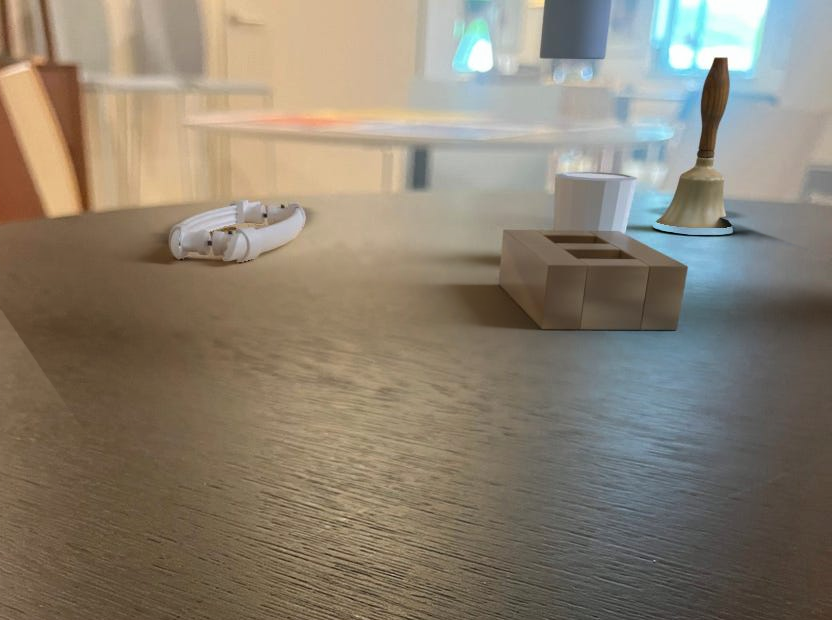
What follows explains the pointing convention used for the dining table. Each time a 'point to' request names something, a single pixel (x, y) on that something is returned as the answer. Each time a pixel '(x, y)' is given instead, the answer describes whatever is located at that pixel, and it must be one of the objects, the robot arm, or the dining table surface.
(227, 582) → the dining table surface
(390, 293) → the dining table surface
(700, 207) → the hand bell
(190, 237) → the white oval frame
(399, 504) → the dining table surface
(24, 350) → the dining table surface
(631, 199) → the white faceted cup
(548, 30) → the cylindrical bottle
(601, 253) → the holder
